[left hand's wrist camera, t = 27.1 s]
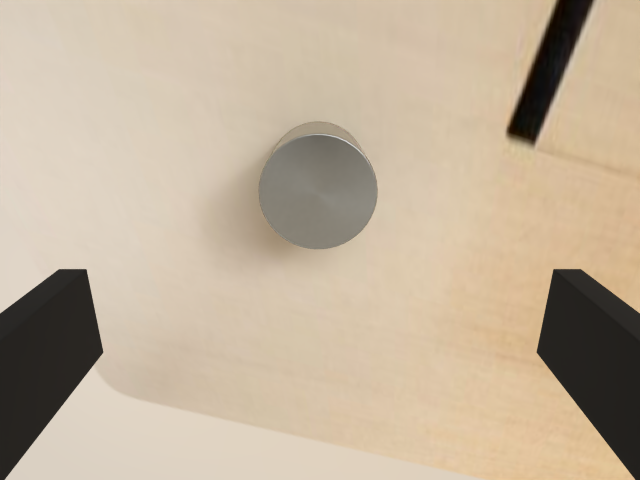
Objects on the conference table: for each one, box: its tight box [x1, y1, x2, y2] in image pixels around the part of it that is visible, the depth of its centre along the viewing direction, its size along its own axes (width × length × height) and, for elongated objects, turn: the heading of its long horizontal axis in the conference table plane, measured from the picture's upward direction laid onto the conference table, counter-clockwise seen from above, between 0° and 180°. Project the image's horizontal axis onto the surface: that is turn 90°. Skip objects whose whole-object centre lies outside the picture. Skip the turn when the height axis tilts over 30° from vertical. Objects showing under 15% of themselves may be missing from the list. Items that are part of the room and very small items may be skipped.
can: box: [259, 122, 377, 249], centre depth 31 cm, size 7×7×8 cm
